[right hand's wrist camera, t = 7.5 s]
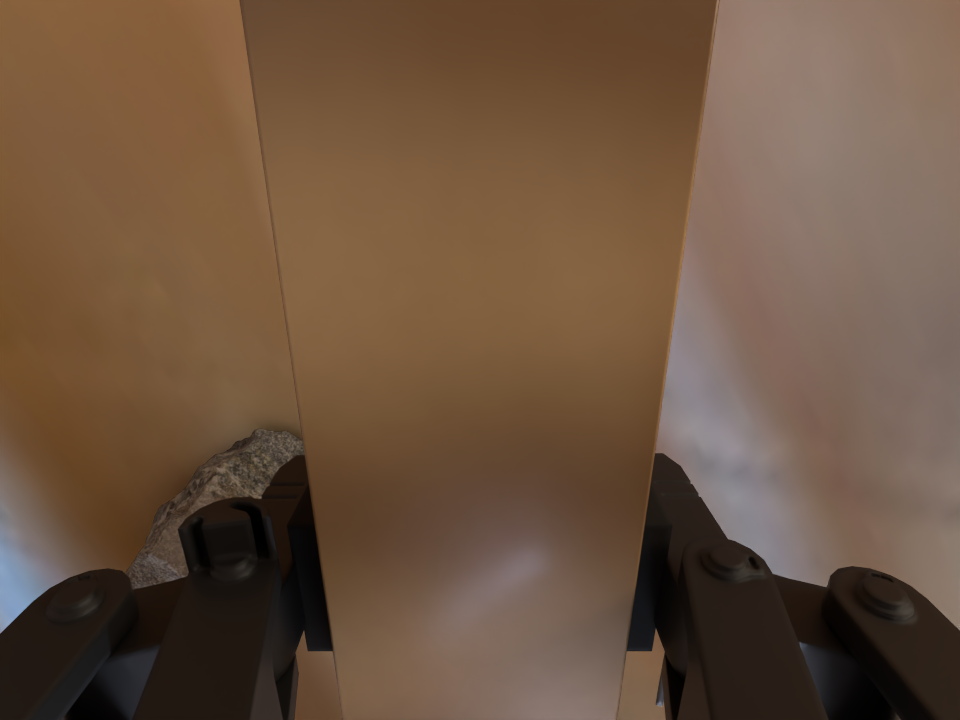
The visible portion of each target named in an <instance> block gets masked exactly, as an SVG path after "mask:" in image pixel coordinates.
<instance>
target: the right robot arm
mask: <svg viewBox="0 0 960 720" xmlns="http://www.w3.org/2000/svg"><path fill="white" fill-rule="evenodd" d="M178 533H179V537H180V541H181V545H182V548H183V552H184V556H185V560H186V564H187V567H188V571H189V573H188V575H187V576H186V577H183V578H179V579H176V580H173V581H168V582H164V583H160V584H155V585H151V586H147V587H142V588H138V589H134V590H133V587H132V583H131V580H130V578H129V577H128V576H127V575H126V574H125V573H124V572H123V571H119V570H114V569H101V570H93V571H88V572H85V573H82V574H79V575H76V576H73V577H70V578H68V579H66V580H64V581H63V582H61V583H59V584H57V585H55V586H53V587H51V588H50V589H48V590H47V591H46V592H45V593H43V594H42V595H41V596H39V597H38V598H37V599H36V600H34V601H33V602H32V603H31V604H30V605H29V606H28V607H27V608H26V609H25V610H24V611H23V612H22V613H21V614H20V615H19V616H18V617H17V618H16V619H15V620H14V621H13V622H12V623H11V624H10V625H9V626H8V627H7V628H6V629H5V630H4V631H3V632H2V633H1V634H0V720H294V717H295V707H296V696H297V686H298V676H299V672H298V665H297V659H296V653H295V652H296V650H297V647H298V644H299V641H300V639H301V636H302V633H303V631H305V637H306V643H307V649H308V651H333V649H332V642H331V635H330V628H329V621H328V614H327V607H326V600H325V593H324V586H323V579H322V572H321V565H320V558H319V551H318V544H317V537H316V530H315V523H314V516H313V509H312V502H311V495H310V488H309V481H308V474H307V467H306V460H305V455H296V456H295V457H293V458H292V459H291V460H289V461H288V462H287V463H285V464H284V465H283V466H281V467H280V468H279V469H278V471H277V472H276V474H275V475H274V477H273V478H272V480H271V482H270V485H269V486H267V488H266V489H265V491H264V492H263V494H262V498H261V499H255V498H252V497H232V498H228V499H223V500H219V501H215V502H213V503H211V504H209V505H206V506H204V507H202V508H199V509H198V510H197V511H195V512H194V513H193V514H191V515H190V516H188V517H187V518H186V519H185V520H184V521H183V523H182V524H181V525H180V527H179V528H178ZM655 629H657V632H658V634H659V637H660V640H661V642H662V645H663V648H664V651H665V653H664V659H663V665H662V670H661V676H660V681H659V687H658V692H657V699H656V705H659V706H663V701H664V705H665V715H666V720H900V719H901V720H960V631H959V630H958V629H957V628H956V627H955V626H954V625H953V624H952V623H951V622H950V621H949V620H948V619H947V618H946V617H945V616H944V615H943V614H942V613H941V612H940V611H939V610H938V609H937V608H936V607H935V606H934V605H933V604H932V603H931V602H930V601H929V600H928V599H927V598H925V597H924V596H923V595H921V594H920V593H919V592H918V591H916V590H915V589H914V588H913V587H911V586H910V585H908V584H906V583H904V582H902V581H900V580H898V579H897V578H895V577H893V576H891V575H888V574H885V573H882V572H879V571H876V570H873V569H870V568H862V567H854V566H851V567H845V568H840V569H837V570H836V571H835V572H834V573H833V574H832V575H831V576H830V579H829V582H828V585H827V587H823V586H818V585H814V584H810V583H805V582H801V581H796V580H792V579H788V578H784V577H781V576H778V575H775V574H772V572H771V570H770V569H769V567H768V566H767V564H766V563H765V561H764V560H763V559H762V558H761V557H760V556H759V555H757V554H756V553H755V552H754V551H752V550H751V549H750V548H747V547H745V546H743V545H741V544H739V543H737V542H735V541H732V540H728V539H727V537H726V536H725V534H724V532H723V531H722V529H721V528H720V526H719V525H718V523H717V522H716V520H715V519H714V517H713V515H712V514H711V512H710V511H709V509H708V508H707V506H706V505H705V503H704V502H703V500H702V498H701V497H699V496H698V492H697V491H696V489H695V488H694V486H693V485H692V484H690V480H689V478H688V477H687V475H686V474H685V472H684V471H683V469H682V468H681V466H680V465H678V464H677V463H676V462H674V461H673V460H671V459H670V458H669V457H667V456H666V455H665V454H663V453H655V456H654V463H653V470H652V477H651V484H650V491H649V498H648V505H647V512H646V519H645V526H644V533H643V540H642V547H641V554H640V561H639V568H638V575H637V582H636V589H635V596H634V603H633V610H632V617H631V624H630V631H629V638H628V645H627V651H652V647H653V641H654V635H655Z"/></svg>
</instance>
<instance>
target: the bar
mask: <svg viewBox="0 0 960 720" xmlns="http://www.w3.org/2000/svg"><path fill="white" fill-rule="evenodd" d="M240 6H241V13H242V20H243V27H244V34H245V41H246V48H247V55H248V62H249V69H250V76H251V83H252V90H253V97H254V104H255V111H256V118H257V125H258V132H259V139H260V146H261V153H262V160H263V167H264V174H265V181H266V188H267V195H268V202H269V209H270V216H271V223H272V230H273V237H274V244H275V251H276V258H277V265H278V272H279V279H280V286H281V293H282V300H283V307H284V314H285V321H286V328H287V335H288V342H289V348H290V355H291V362H292V369H293V376H294V383H295V390H296V397H297V404H298V411H299V418H300V425H301V432H302V439H303V446H304V453H305V460H306V467H307V474H308V481H309V488H310V495H311V502H312V509H313V516H314V523H315V530H316V537H317V544H318V551H319V558H320V565H321V572H322V579H323V586H324V593H325V600H326V607H327V614H328V621H329V628H330V635H331V642H332V649H333V656H334V663H335V670H336V677H337V684H338V691H339V698H340V705H341V712H342V719H343V720H617V715H618V708H619V701H620V694H621V687H622V680H623V673H624V666H625V659H626V652H627V645H628V638H629V631H630V624H631V617H632V610H633V603H634V596H635V589H636V582H637V575H638V568H639V561H640V554H641V547H642V540H643V533H644V526H645V519H646V512H647V505H648V498H649V491H650V484H651V477H652V470H653V463H654V456H655V449H656V442H657V435H658V428H659V421H660V414H661V407H662V400H663V393H664V386H665V379H666V372H667V365H668V358H669V351H670V344H671V337H672V330H673V323H674V316H675V309H676V302H677V295H678V288H679V281H680V274H681V267H682V260H683V253H684V246H685V239H686V232H687V225H688V218H689V211H690V204H691V197H692V190H693V183H694V176H695V169H696V162H697V155H698V148H699V141H700V134H701V127H702V120H703V113H704V106H705V99H706V92H707V85H708V77H709V70H710V63H711V56H712V49H713V42H714V35H715V28H716V21H717V14H718V7H719V0H240Z"/></svg>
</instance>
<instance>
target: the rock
mask: <svg viewBox="0 0 960 720" xmlns="http://www.w3.org/2000/svg"><path fill="white" fill-rule="evenodd" d="M296 455H305V453H304V446H303V441H301V439H300V440H299V438H297V437H295V436H294V435H292V434H291V433H289V432H287V431H282V432H273V431H271V430H269V431H266V430H265V429H256V430H255V431H254V432H253V433H252V435H251V437H249V438H245V439H243V440H242V441H237V442H235V444H234V445H233V446H232V448H230V449H229V450H227V452H224V453H221V454H216V455H214V456H213V457H212V458H211V459H210V460H209V461H207V462H206V463H205V464H204V465H202V466H200V467H198V469H197V470H196V472H195V474H194V475H193V477H192V479H191V480H190V482H189V484H188V485H187V487H186V488H185V489H184V490H183V491H182V492H180V493H179V494H177V495H176V497H174V498H173V499H172V500H171V501H168V502H167V503H166V504H164V505H162V506H161V507H160V508H159V509H158V511H157V513H156V515H155V518H154V521H153V525H152V528H151V531H150V533H149V535H148V537H147V538H146V544H145V546H144V547H143V548H142V549H141V551H140V552H139V553H138V555H137V556H136V558H135V560H134V562H133V563H132V564H131V565H130V567H129V568H128V570H127V571H126V573H125V574H126V575H127V576H128V577H129V578H130V580H131V583H132V587H133V590H134V589H138V588H142V587H147V586H151V585H155V584H160V583H164V582H168V581H173V580H176V579H179V578H183V577H186V576H187V575H188V573H189V571H188V567H187V564H186V560H185V556H184V552H183V548H182V545H181V541H180V537H179V533H178V528H179V527H180V525H181V524H182V523H183V521H184V520H185V519H186V518H187V517H188V516H190V515H191V514H193V513H194V512H195V511H197V510H198V509H199V508H202V507H204V506H206V505H209V504H211V503H213V502H215V501H219V500H223V499H228V498H232V497H252V498H255V499H261V498H262V494H263V492H264V491H265V489H266V488H267V486H269V485H270V482H271V480H272V478H273V477H274V475H275V474H276V472H277V471H278V469H279V468H280V467H281V466H283V465H284V464H285V463H287V462H288V461H289V460H291V459H292V458H293V457H295V456H296Z"/></svg>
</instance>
